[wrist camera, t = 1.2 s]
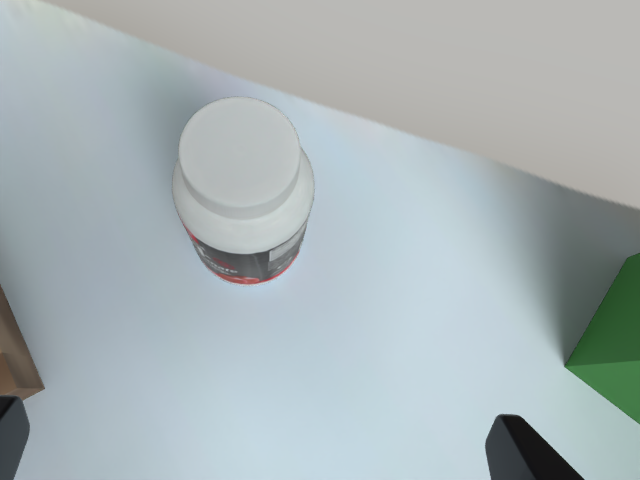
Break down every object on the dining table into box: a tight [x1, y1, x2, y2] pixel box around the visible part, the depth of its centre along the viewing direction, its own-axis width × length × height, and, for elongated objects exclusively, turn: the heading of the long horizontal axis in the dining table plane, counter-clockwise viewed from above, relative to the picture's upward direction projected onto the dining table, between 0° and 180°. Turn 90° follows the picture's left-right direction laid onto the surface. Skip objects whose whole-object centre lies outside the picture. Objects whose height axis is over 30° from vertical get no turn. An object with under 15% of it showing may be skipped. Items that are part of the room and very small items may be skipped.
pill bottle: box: [172, 97, 315, 286], centre depth 21 cm, size 5×5×10 cm
